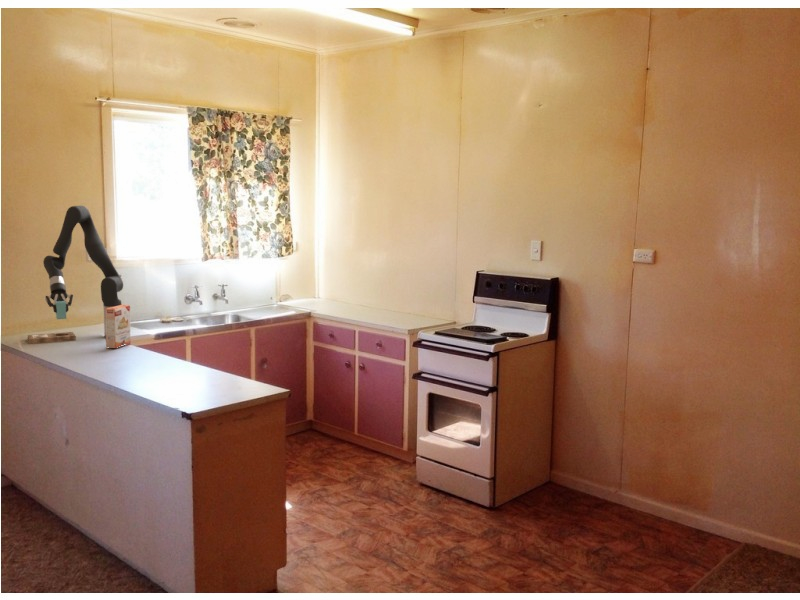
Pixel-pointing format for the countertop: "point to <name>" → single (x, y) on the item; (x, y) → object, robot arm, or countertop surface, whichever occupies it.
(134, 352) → the countertop surface
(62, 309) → the teal block
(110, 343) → the cracker box
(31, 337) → the puzzle board
